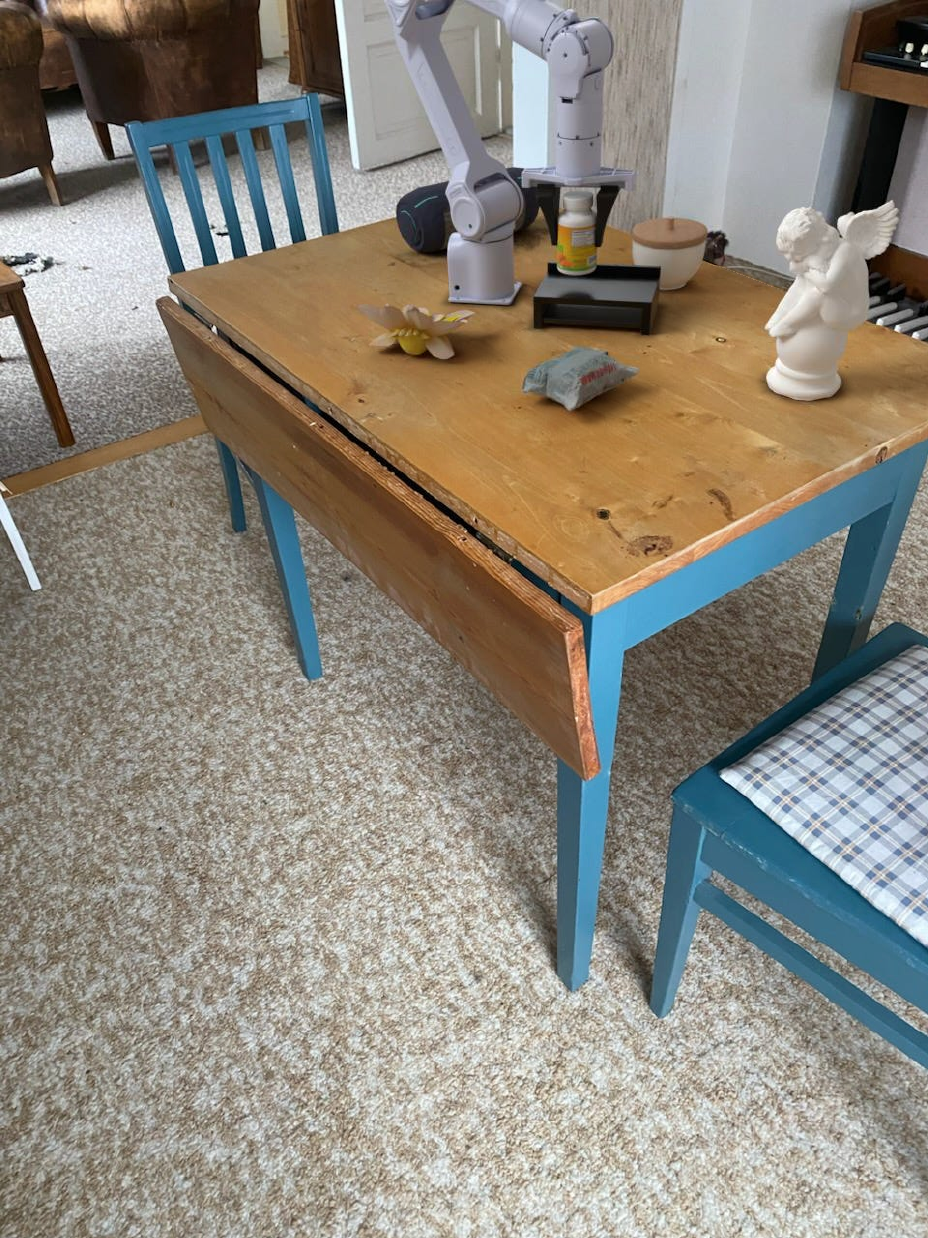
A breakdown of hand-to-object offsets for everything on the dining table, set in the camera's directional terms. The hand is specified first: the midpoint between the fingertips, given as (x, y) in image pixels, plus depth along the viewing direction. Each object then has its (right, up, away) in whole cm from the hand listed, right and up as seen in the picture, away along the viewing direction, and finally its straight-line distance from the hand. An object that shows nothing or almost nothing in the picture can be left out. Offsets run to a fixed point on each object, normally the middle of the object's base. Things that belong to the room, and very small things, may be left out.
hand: (576, 243), depth 128 cm
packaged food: (-1, -24, -12) cm, 26 cm away
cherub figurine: (+27, -21, -12) cm, 37 cm away
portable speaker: (-14, +14, +33) cm, 38 cm away
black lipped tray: (+4, -8, +6) cm, 10 cm away
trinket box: (+15, 0, +14) cm, 21 cm away
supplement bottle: (0, -3, +2) cm, 4 cm away
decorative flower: (-20, -14, +1) cm, 25 cm away
